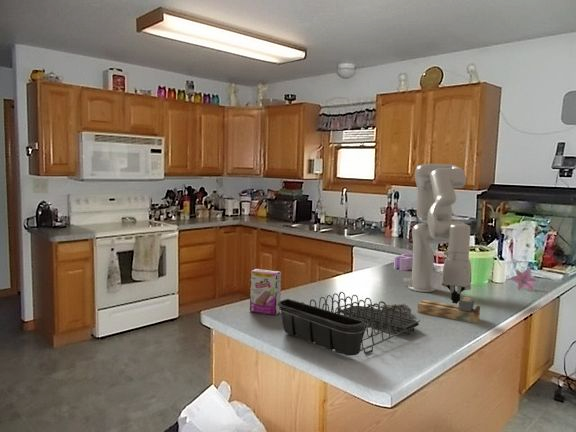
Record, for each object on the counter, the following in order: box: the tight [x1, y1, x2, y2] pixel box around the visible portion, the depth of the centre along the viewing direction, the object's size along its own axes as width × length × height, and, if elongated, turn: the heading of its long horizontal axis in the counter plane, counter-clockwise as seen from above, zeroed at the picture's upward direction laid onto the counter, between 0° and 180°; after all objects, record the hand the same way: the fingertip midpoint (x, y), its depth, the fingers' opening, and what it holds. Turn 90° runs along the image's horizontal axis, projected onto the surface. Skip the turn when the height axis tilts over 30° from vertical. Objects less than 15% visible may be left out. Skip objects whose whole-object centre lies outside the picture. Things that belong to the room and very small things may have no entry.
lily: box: [509, 267, 539, 293], centre depth 219 cm, size 12×12×10 cm
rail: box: [417, 299, 481, 324], centre depth 175 cm, size 22×6×5 cm, turn 58°
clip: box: [393, 253, 413, 271], centre depth 262 cm, size 20×12×7 cm, turn 128°
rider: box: [458, 296, 475, 312], centre depth 172 cm, size 4×6×5 cm
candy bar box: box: [249, 268, 282, 316], centre depth 174 cm, size 11×5×16 cm, turn 71°
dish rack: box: [278, 291, 421, 357], centre depth 154 cm, size 34×44×12 cm
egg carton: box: [381, 303, 413, 317], centre depth 175 cm, size 11×8×4 cm
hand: (455, 302), depth 174 cm, fingers closed
